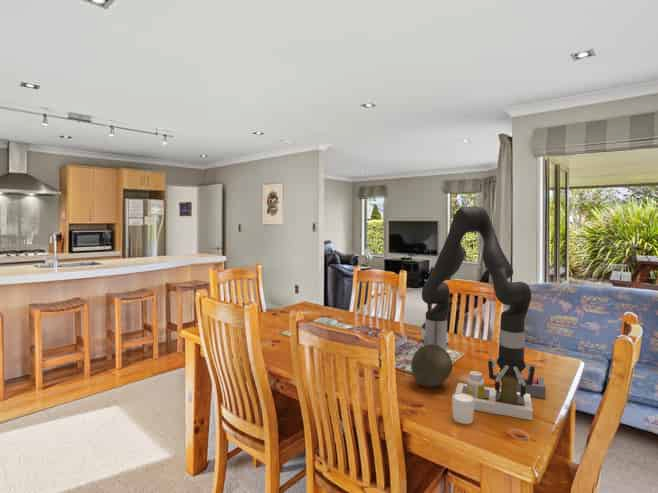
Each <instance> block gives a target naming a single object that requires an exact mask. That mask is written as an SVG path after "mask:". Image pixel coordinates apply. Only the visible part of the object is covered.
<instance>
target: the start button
mask: <svg viewBox="0 0 658 493" xmlns="http://www.w3.org/2000/svg"><path fill="white" fill-rule="evenodd" d="M523 377H524V379H525V380H527V379H528V376H523ZM535 377H536V376H535ZM535 377H533V384H537V378H535Z"/></svg>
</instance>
